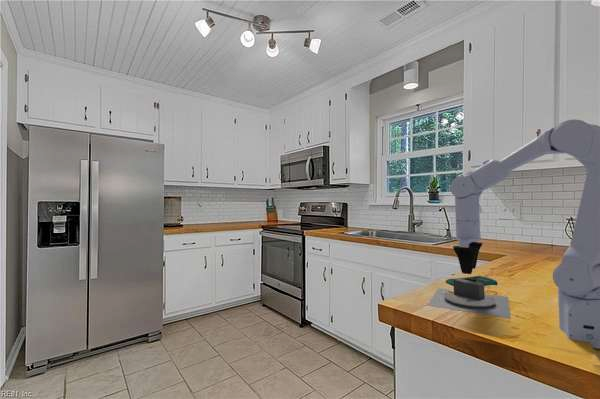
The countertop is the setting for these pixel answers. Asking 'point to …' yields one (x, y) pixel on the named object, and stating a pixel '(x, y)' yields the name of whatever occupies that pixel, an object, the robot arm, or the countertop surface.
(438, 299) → the dial panel
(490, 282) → the digital multimeter
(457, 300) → the dial
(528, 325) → the countertop surface
